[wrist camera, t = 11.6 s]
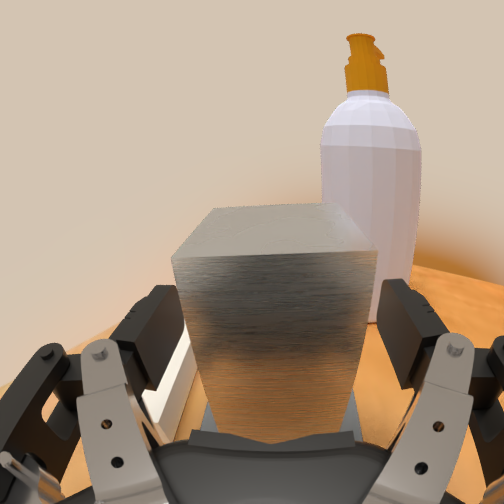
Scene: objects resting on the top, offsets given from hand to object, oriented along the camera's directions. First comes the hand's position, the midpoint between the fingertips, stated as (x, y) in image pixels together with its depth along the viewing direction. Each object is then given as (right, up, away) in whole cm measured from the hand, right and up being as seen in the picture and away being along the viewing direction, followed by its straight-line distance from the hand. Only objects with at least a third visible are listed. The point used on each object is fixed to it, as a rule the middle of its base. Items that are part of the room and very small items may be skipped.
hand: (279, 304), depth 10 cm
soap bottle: (+10, -3, +15) cm, 18 cm away
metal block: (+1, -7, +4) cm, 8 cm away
